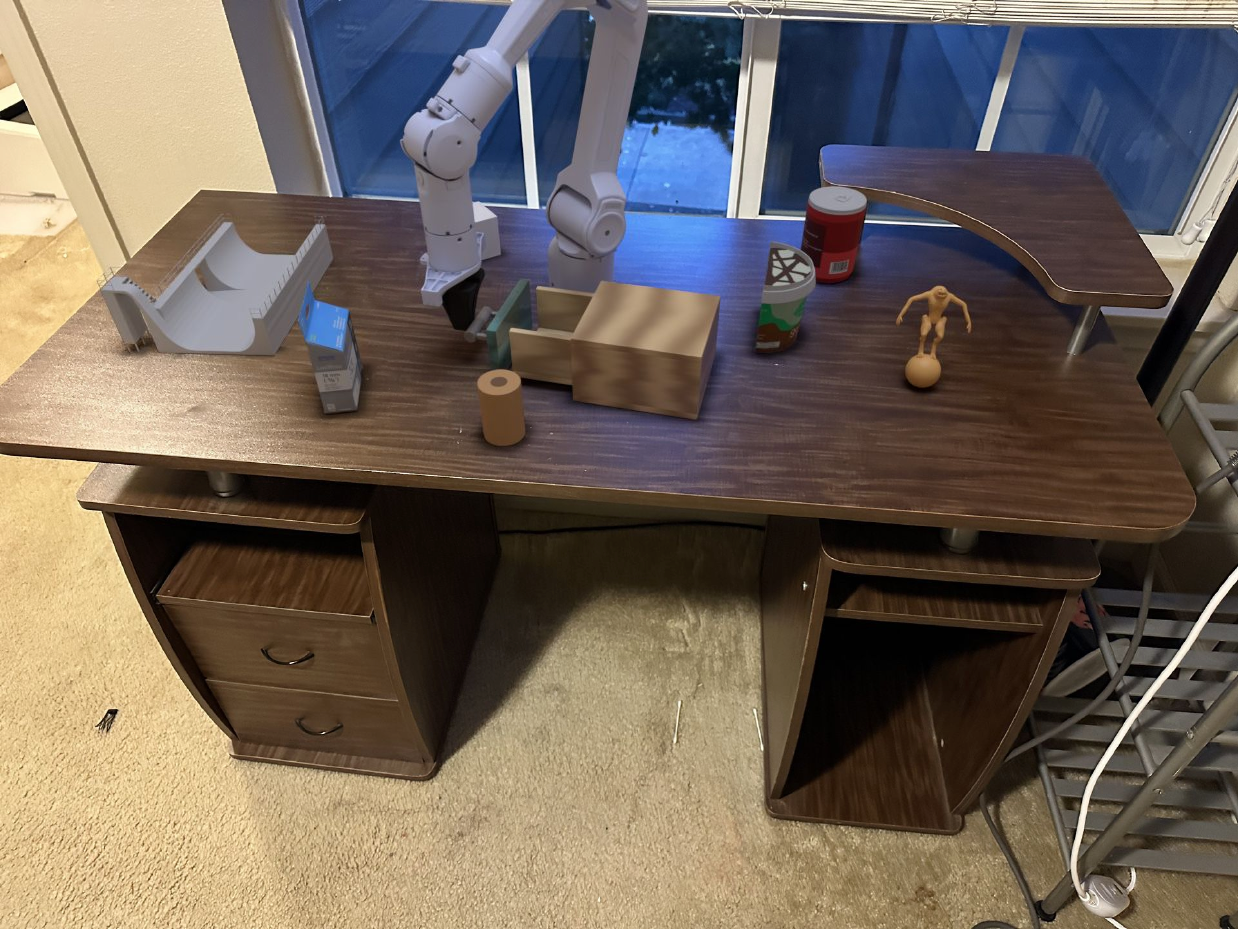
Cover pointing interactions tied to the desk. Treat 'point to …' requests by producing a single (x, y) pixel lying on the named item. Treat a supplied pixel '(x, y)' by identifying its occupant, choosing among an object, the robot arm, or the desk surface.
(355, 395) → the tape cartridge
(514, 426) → the paper roll
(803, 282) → the food container
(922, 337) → the figurine
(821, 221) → the canned food
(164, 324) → the skate ramp
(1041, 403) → the desk surface
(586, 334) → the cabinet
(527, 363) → the drawer
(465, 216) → the robot arm
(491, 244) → the white cube
